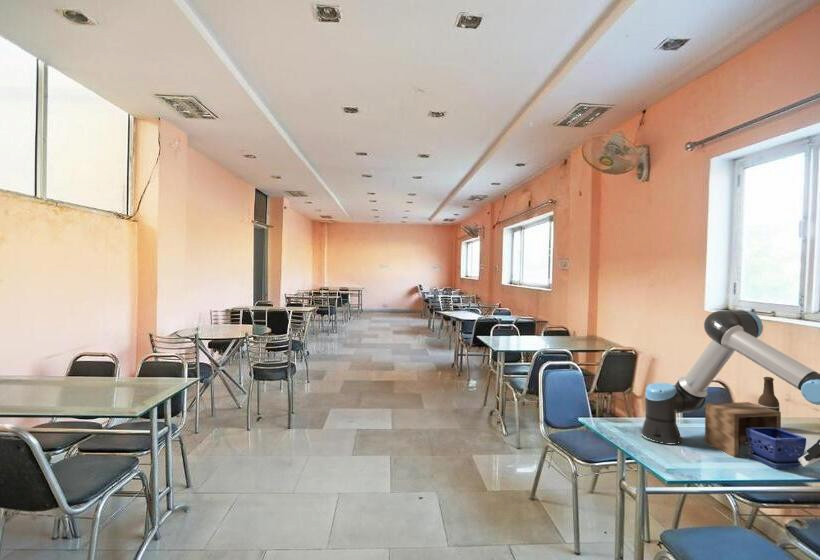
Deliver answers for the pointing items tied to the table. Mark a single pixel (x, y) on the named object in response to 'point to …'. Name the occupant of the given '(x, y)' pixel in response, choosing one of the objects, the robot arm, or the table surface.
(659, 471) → the table surface
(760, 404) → the beer bottle
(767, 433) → the flower pot
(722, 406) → the shelf
